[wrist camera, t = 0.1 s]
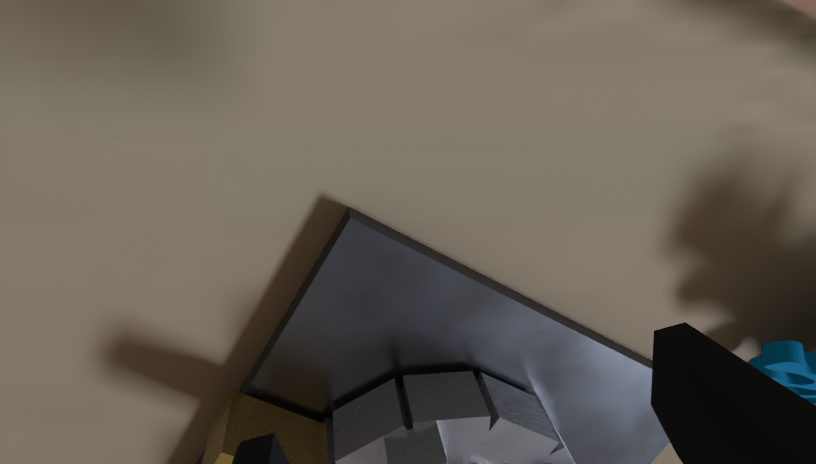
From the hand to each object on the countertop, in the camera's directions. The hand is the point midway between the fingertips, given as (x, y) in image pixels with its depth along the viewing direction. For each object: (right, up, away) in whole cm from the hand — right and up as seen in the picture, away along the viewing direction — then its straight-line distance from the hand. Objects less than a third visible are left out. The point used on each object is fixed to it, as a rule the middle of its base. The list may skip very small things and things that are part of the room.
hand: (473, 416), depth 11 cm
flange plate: (0, -6, +14) cm, 15 cm away
